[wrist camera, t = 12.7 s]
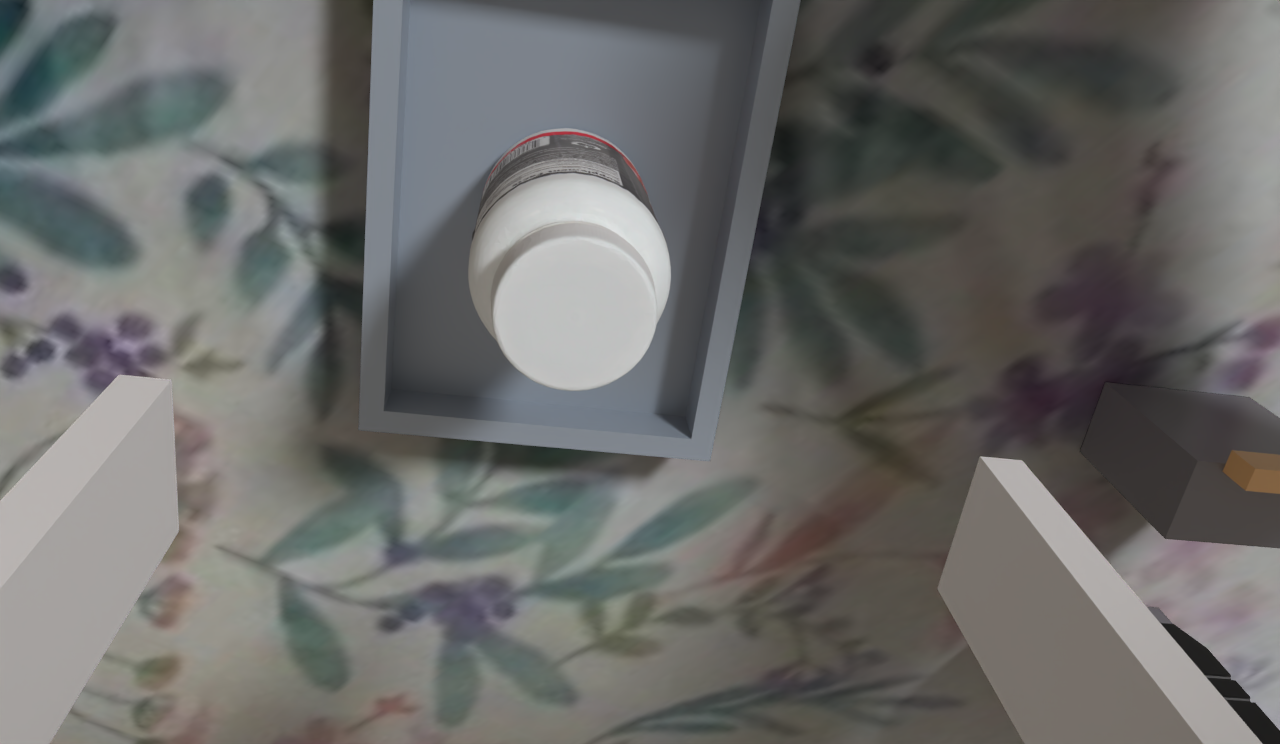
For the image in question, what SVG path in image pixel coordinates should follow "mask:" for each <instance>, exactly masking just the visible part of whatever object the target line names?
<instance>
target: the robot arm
mask: <svg viewBox="0 0 1280 744" xmlns="http://www.w3.org/2000/svg"><path fill="white" fill-rule="evenodd" d="M178 532H179V520H178V499H177V479H176V458H175V437H174V416H173V395H172V380H170V379H159V378H148V377H138V376H127V375H118V376H117V378H116V379H115V380H114V381H113V382H112V383H111V384H110V385H109V386H108V387H107V388H106V389H105V390H104V391H103V392H102V393H101V394H100V396H99V397H98V398H97V399H96V400H95V401H94V402H93V403H92V404H91V405H90V406H89V407H88V408H87V409H86V410H85V411H84V413H83V414H82V415H81V416H80V417H79V418H78V419H77V420H76V421H75V422H74V423H73V424H72V425H71V426H70V427H69V428H68V430H67V431H66V432H65V433H64V434H63V435H62V436H61V437H60V438H59V439H58V440H57V441H56V442H55V443H54V444H53V445H52V446H51V448H50V449H49V450H48V451H47V452H46V453H45V454H44V455H43V456H42V457H41V458H40V459H39V460H38V461H37V462H36V463H35V465H34V466H33V467H32V468H31V469H30V470H29V471H28V472H27V473H26V474H25V475H24V476H23V477H22V478H21V479H20V480H19V482H18V483H17V484H16V485H15V486H14V487H13V488H12V489H11V490H10V491H9V492H8V493H7V494H6V495H5V496H4V497H3V498H2V500H1V501H0V744H50V742H51V741H52V739H53V737H54V736H55V734H56V732H57V731H58V729H59V727H60V726H61V724H62V722H63V721H64V719H65V718H66V716H67V714H68V713H69V711H70V709H71V708H72V706H73V704H74V703H75V701H76V699H77V698H78V696H79V695H80V693H81V691H82V690H83V688H84V686H85V685H86V683H87V681H88V680H89V678H90V676H91V675H92V673H93V672H94V670H95V668H96V667H97V665H98V663H99V662H100V660H101V658H102V657H103V655H104V653H105V652H106V650H107V649H108V647H109V645H110V644H111V642H112V640H113V639H114V637H115V635H116V634H117V632H118V630H119V629H120V627H121V626H122V624H123V622H124V621H125V619H126V617H127V616H128V614H129V612H130V611H131V609H132V607H133V606H134V604H135V602H136V601H137V599H138V598H139V596H140V594H141V593H142V591H143V589H144V588H145V586H146V584H147V583H148V581H149V579H150V578H151V576H152V575H153V573H154V571H155V570H156V568H157V566H158V565H159V563H160V561H161V560H162V558H163V556H164V555H165V553H166V552H167V550H168V548H169V547H170V545H171V543H172V542H173V540H174V538H175V537H176V535H177V533H178ZM937 589H938V591H939V593H940V595H941V597H942V598H943V600H944V602H945V604H946V605H947V607H948V609H949V611H950V613H951V614H952V616H953V618H954V620H955V621H956V623H957V625H958V627H959V629H960V630H961V632H962V634H963V636H964V637H965V639H966V641H967V643H968V645H969V646H970V648H971V650H972V652H973V653H974V655H975V657H976V659H977V661H978V662H979V664H980V666H981V668H982V669H983V671H984V673H985V675H986V677H987V678H988V680H989V682H990V684H991V685H992V687H993V689H994V691H995V693H996V694H997V696H998V698H999V700H1000V701H1001V703H1002V705H1003V707H1004V709H1005V710H1006V712H1007V714H1008V716H1009V717H1010V719H1011V721H1012V723H1013V725H1014V726H1015V728H1016V730H1017V732H1018V734H1019V735H1020V737H1021V739H1022V741H1023V742H1024V744H1280V730H1279V729H1278V728H1277V727H1276V726H1275V725H1274V724H1273V722H1272V721H1271V720H1270V719H1269V718H1268V717H1267V716H1266V715H1265V713H1264V712H1263V711H1262V710H1261V709H1260V708H1259V707H1258V706H1257V704H1256V703H1251V702H1250V696H1249V695H1248V694H1247V693H1246V692H1245V691H1244V690H1243V689H1242V687H1241V686H1240V685H1239V684H1238V683H1237V682H1236V681H1234V680H1231V678H1230V677H1231V675H1230V674H1229V673H1228V672H1227V670H1226V669H1225V668H1224V667H1223V666H1222V665H1221V664H1220V662H1219V661H1218V660H1217V659H1216V658H1215V657H1214V656H1213V655H1212V653H1211V652H1210V651H1209V650H1208V649H1207V648H1206V647H1204V646H1203V645H1202V644H1200V643H1199V642H1198V641H1196V640H1195V639H1193V638H1192V637H1191V636H1189V635H1188V634H1187V633H1185V632H1184V631H1182V630H1181V629H1180V628H1178V627H1177V626H1175V625H1174V624H1168V623H1160V622H1159V621H1158V620H1157V619H1156V618H1155V616H1154V615H1153V614H1152V613H1151V612H1150V610H1149V609H1148V608H1147V607H1146V606H1145V605H1144V603H1143V602H1142V601H1141V600H1140V599H1139V597H1138V596H1137V595H1136V594H1135V593H1134V592H1133V590H1132V589H1131V588H1130V587H1129V586H1128V585H1127V583H1126V582H1125V581H1124V580H1123V579H1122V577H1121V576H1120V575H1119V574H1118V573H1117V572H1116V570H1115V569H1114V568H1113V567H1112V566H1111V564H1110V563H1109V562H1108V561H1107V560H1106V559H1105V557H1104V556H1103V555H1102V554H1101V553H1100V552H1099V550H1098V549H1097V548H1096V547H1095V546H1094V544H1093V543H1092V542H1091V541H1090V540H1089V539H1088V537H1087V536H1086V535H1085V534H1084V533H1083V531H1082V530H1081V529H1080V528H1079V527H1078V526H1077V524H1076V523H1075V522H1074V521H1073V520H1072V518H1071V517H1070V516H1069V515H1068V514H1067V513H1066V511H1065V510H1064V509H1063V508H1062V507H1061V506H1060V504H1059V503H1058V502H1057V501H1056V500H1055V498H1054V497H1053V496H1052V495H1051V494H1050V493H1049V491H1048V490H1047V489H1046V488H1045V487H1044V485H1043V484H1042V483H1041V482H1040V481H1039V480H1038V478H1037V477H1036V476H1035V475H1034V474H1033V473H1032V471H1031V470H1030V469H1029V468H1028V467H1027V465H1026V464H1025V463H1024V462H1023V461H1022V460H1014V459H1003V458H993V457H982V456H980V457H979V460H978V464H977V467H976V470H975V473H974V476H973V479H972V482H971V485H970V488H969V492H968V495H967V498H966V501H965V504H964V507H963V510H962V513H961V516H960V520H959V523H958V526H957V529H956V532H955V535H954V538H953V541H952V544H951V548H950V551H949V554H948V557H947V560H946V563H945V566H944V569H943V572H942V576H941V579H940V582H939V585H938V588H937Z"/></svg>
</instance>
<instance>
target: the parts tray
mask: <svg viewBox="0 0 1280 744" xmlns="http://www.w3.org/2000/svg"><path fill="white" fill-rule="evenodd" d="M800 2H801V0H373V25H372V53H371V82H370V111H369V139H368V168H367V197H366V225H365V254H364V283H363V312H362V340H361V369H360V398H359V426H358V430H361V431H372V432H384V433H395V434H406V435H418V436H429V437H440V438H452V439H463V440H474V441H486V442H497V443H508V444H520V445H531V446H542V447H553V448H565V449H576V450H587V451H599V452H610V453H621V454H633V455H644V456H655V457H667V458H678V459H689V460H701V461H710V459H711V454H712V449H713V444H714V439H715V434H716V429H717V424H718V419H719V413H720V408H721V403H722V398H723V393H724V388H725V383H726V378H727V373H728V368H729V363H730V358H731V352H732V347H733V342H734V337H735V332H736V327H737V322H738V317H739V312H740V307H741V302H742V297H743V291H744V286H745V281H746V276H747V271H748V266H749V261H750V256H751V251H752V246H753V241H754V236H755V230H756V225H757V220H758V215H759V210H760V205H761V200H762V195H763V190H764V185H765V180H766V175H767V169H768V164H769V159H770V154H771V149H772V144H773V139H774V134H775V129H776V124H777V119H778V114H779V108H780V103H781V98H782V93H783V88H784V83H785V78H786V73H787V68H788V63H789V58H790V53H791V48H792V42H793V37H794V32H795V27H796V22H797V17H798V12H799V7H800ZM560 128H571V129H578V130H583V131H586V132H589V133H593V134H596V135H598V136H600V137H602V138H604V139H606V140H608V141H609V142H611V143H612V144H614V145H615V146H616V147H618V148H619V149H620V150H621V151H622V152H623V153H624V154H625V155H626V156H627V157H628V158H629V159H630V161H631V162H632V163H633V165H634V167H635V168H636V170H637V172H638V174H639V175H640V178H641V180H642V182H643V184H644V186H645V189H646V192H647V194H648V197H649V200H650V203H651V206H652V208H653V211H654V214H655V217H656V219H657V221H658V223H659V225H660V228H661V229H662V231H663V233H664V236H665V238H666V242H667V247H668V252H669V256H670V266H671V282H670V290H669V295H668V299H667V302H666V305H665V308H664V310H663V313H662V315H661V317H660V319H659V321H658V323H657V324H656V329H655V333H654V336H653V339H652V341H651V343H650V346H649V348H648V350H647V351H646V353H645V354H644V356H643V357H642V359H641V360H640V361H639V362H638V363H637V364H636V365H635V366H634V367H633V368H632V369H631V370H630V371H629V372H628V373H626V374H625V375H623V376H622V377H620V378H619V379H617V380H615V381H613V382H611V383H609V384H607V385H604V386H602V387H598V388H594V389H590V390H582V391H567V390H558V389H554V388H550V387H546V386H544V385H541V384H539V383H536V382H534V381H533V380H531V379H529V378H528V377H526V376H525V375H523V374H522V373H521V372H519V371H518V370H517V369H516V368H515V367H514V366H513V365H512V364H511V363H510V362H509V360H508V359H507V358H506V357H505V355H504V354H503V352H502V350H501V348H500V347H499V344H498V342H497V341H496V339H495V338H494V337H493V336H492V335H491V334H490V333H489V331H488V330H487V328H486V327H485V326H484V324H483V322H482V321H481V319H480V317H479V315H478V313H477V311H476V309H475V306H474V304H473V301H472V297H471V293H470V288H469V280H468V266H469V256H470V247H471V243H472V234H473V231H474V230H475V226H476V222H477V216H478V212H479V207H480V202H481V197H482V194H483V191H484V188H485V184H486V182H487V179H488V177H489V175H490V173H491V171H492V169H493V168H494V166H495V164H496V163H497V162H498V160H499V159H500V158H501V156H502V155H503V154H504V153H505V152H506V151H507V150H508V149H509V148H510V147H512V146H513V145H514V144H516V143H517V142H519V141H520V140H522V139H524V138H525V137H527V136H529V135H532V134H534V133H537V132H540V131H544V130H551V129H560Z"/></svg>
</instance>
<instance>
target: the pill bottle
mask: <svg viewBox="0 0 1280 744" xmlns="http://www.w3.org/2000/svg"><path fill="white" fill-rule="evenodd" d="M468 280H469V288H470V293H471V297H472V301H473V304H474V306H475V309H476V311H477V313H478V315H479V317H480V319H481V321H482V322H483V324H484V326H485V327H486V328H487V330H488V331H489V333H490V334H491V335H492V336H493V337H494V338H495V339H496V341H497V342H498V344H499V347H500V348H501V350H502V352H503V354H504V355H505V357H506V358H507V359H508V360H509V362H510V363H511V364H512V365H513V366H514V367H515V368H516V369H517V370H518V371H519V372H521V373H522V374H523V375H525V376H526V377H528V378H529V379H531V380H533V381H534V382H536V383H539V384H541V385H544V386H546V387H550V388H554V389H558V390H567V391H582V390H590V389H594V388H598V387H602V386H604V385H607V384H609V383H611V382H613V381H615V380H617V379H619V378H620V377H622V376H623V375H625V374H626V373H628V372H629V371H630V370H631V369H632V368H633V367H634V366H635V365H636V364H637V363H638V362H639V361H640V360H641V359H642V357H643V356H644V354H645V353H646V351H647V350H648V348H649V346H650V343H651V341H652V339H653V336H654V333H655V329H656V324H657V323H658V321H659V319H660V317H661V315H662V313H663V310H664V308H665V305H666V302H667V299H668V295H669V290H670V282H671V266H670V256H669V252H668V247H667V242H666V238H665V236H664V233H663V231H662V229H661V228H660V225H659V223H658V221H657V219H656V217H655V214H654V211H653V208H652V206H651V203H650V200H649V197H648V194H647V192H646V189H645V186H644V184H643V182H642V180H641V178H640V175H639V174H638V172H637V170H636V168H635V167H634V165H633V163H632V162H631V161H630V159H629V158H628V157H627V156H626V155H625V154H624V153H623V152H622V151H621V150H620V149H619V148H618V147H616V146H615V145H614V144H612V143H611V142H609V141H608V140H606V139H604V138H602V137H600V136H598V135H596V134H593V133H589V132H586V131H583V130H578V129H571V128H560V129H551V130H544V131H540V132H537V133H534V134H532V135H529V136H527V137H525V138H524V139H522V140H520V141H519V142H517V143H516V144H514V145H513V146H512V147H510V148H509V149H508V150H507V151H506V152H505V153H504V154H503V155H502V156H501V158H500V159H499V160H498V162H497V163H496V164H495V166H494V168H493V169H492V171H491V173H490V175H489V177H488V179H487V182H486V184H485V188H484V191H483V194H482V197H481V202H480V207H479V212H478V216H477V222H476V226H475V230H474V231H473V234H472V243H471V247H470V256H469V266H468Z"/></svg>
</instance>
